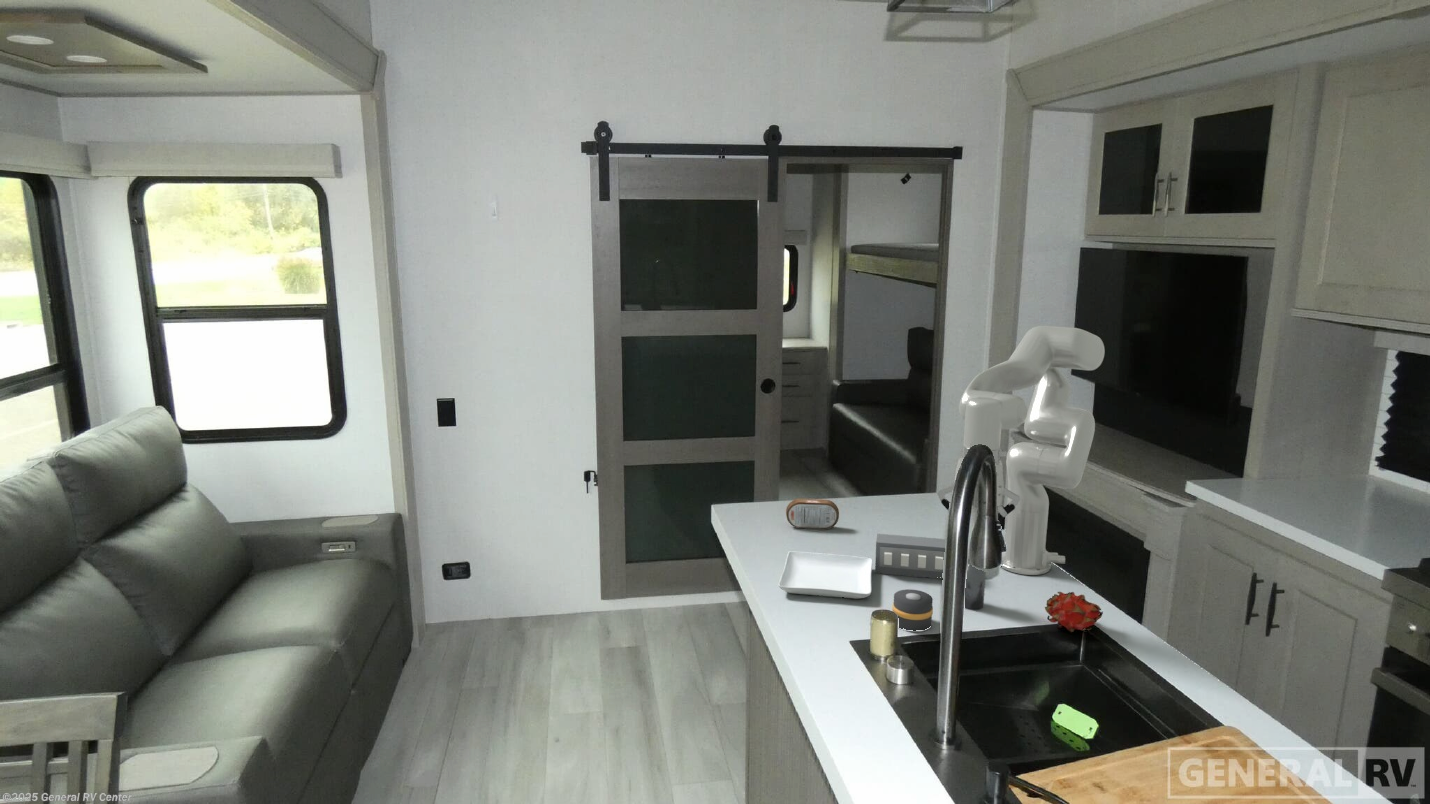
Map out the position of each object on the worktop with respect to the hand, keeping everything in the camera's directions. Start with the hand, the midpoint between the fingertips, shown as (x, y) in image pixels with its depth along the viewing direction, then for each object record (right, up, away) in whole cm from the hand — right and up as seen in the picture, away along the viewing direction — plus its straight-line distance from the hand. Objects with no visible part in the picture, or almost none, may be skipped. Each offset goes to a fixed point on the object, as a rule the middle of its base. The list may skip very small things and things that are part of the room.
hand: (975, 530), depth 176 cm
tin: (-30, -8, +53) cm, 61 cm away
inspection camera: (0, -17, +4) cm, 18 cm away
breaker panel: (-8, -14, +22) cm, 27 cm away
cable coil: (-15, -19, -5) cm, 25 cm away
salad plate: (-30, -16, +16) cm, 38 cm away
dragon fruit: (+18, -20, -7) cm, 28 cm away
